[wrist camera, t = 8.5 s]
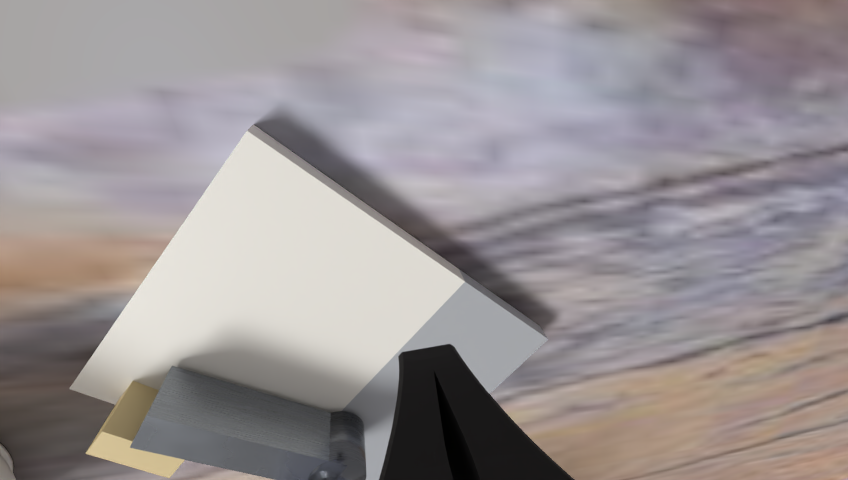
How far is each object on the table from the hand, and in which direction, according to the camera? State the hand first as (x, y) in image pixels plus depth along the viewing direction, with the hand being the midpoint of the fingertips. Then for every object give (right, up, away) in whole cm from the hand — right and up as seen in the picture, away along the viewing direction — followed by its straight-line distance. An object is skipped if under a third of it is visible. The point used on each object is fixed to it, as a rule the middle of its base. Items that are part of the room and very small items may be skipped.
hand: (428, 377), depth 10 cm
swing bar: (-8, -5, +11) cm, 14 cm away
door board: (-5, -2, +11) cm, 13 cm away
